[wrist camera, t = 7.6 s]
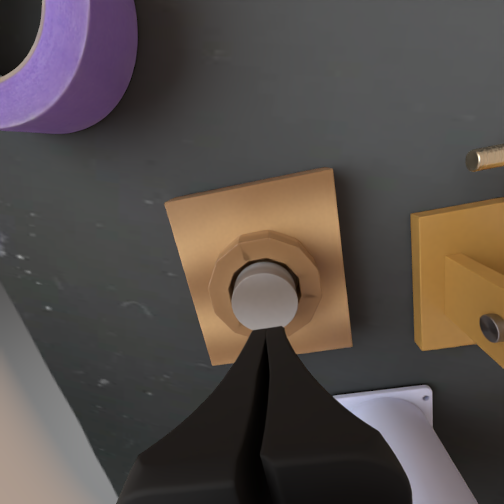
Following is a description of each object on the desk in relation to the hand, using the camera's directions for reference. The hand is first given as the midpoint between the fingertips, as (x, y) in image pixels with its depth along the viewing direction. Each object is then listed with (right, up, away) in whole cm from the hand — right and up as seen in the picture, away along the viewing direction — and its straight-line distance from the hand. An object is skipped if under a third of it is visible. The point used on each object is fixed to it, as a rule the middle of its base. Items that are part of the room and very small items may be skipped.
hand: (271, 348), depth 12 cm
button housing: (0, +3, +9) cm, 9 cm away
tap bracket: (+14, +3, +8) cm, 17 cm away
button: (0, +2, +5) cm, 5 cm away
